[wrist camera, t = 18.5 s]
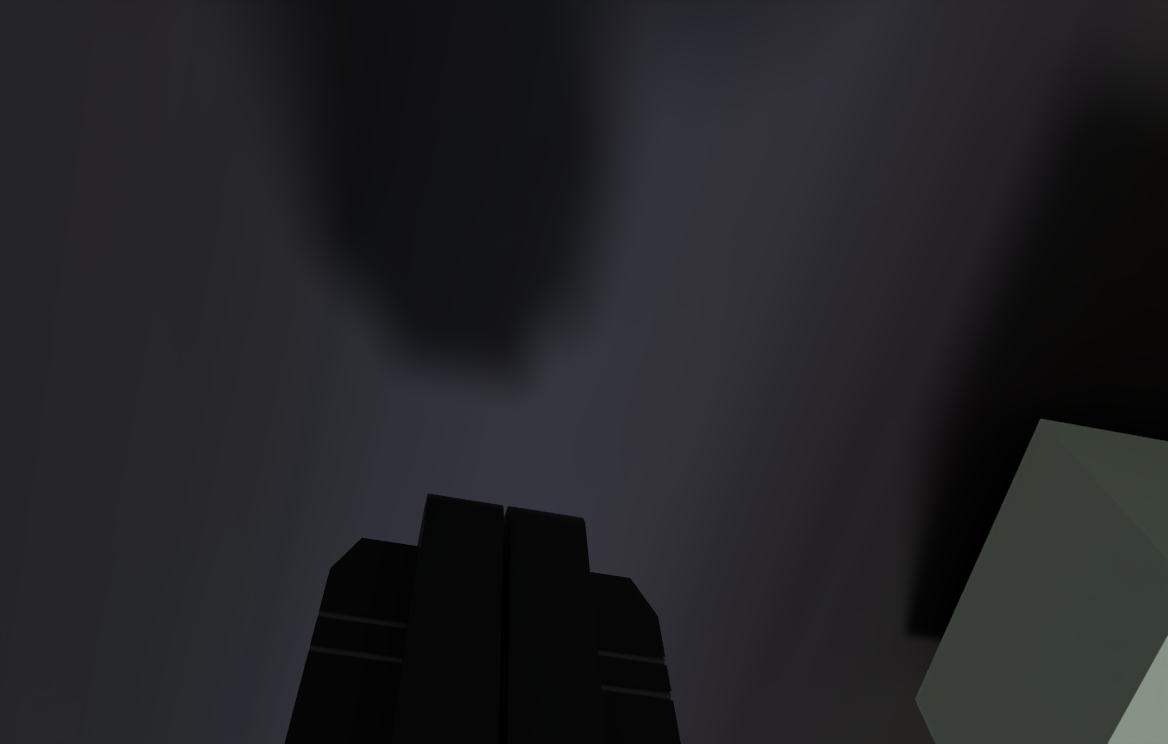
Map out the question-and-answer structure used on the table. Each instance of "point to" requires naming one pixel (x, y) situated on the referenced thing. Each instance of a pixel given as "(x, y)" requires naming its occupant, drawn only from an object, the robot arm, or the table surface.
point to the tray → (1064, 603)
